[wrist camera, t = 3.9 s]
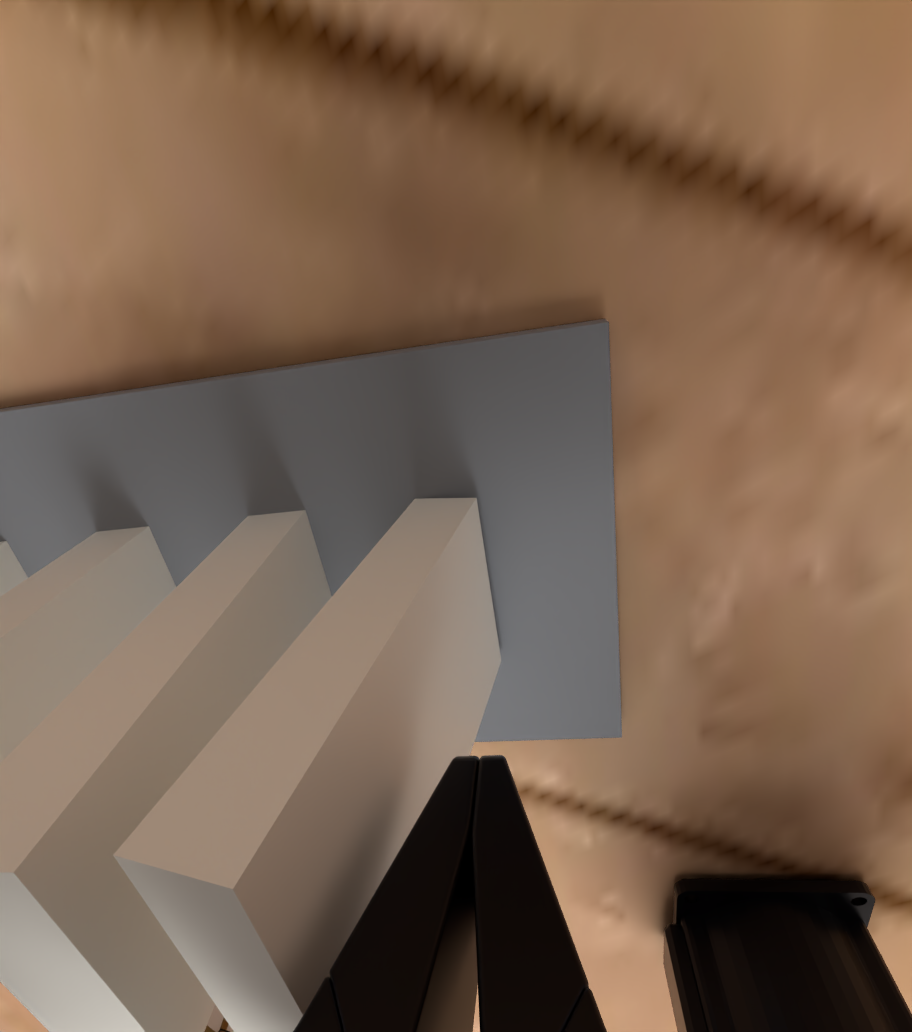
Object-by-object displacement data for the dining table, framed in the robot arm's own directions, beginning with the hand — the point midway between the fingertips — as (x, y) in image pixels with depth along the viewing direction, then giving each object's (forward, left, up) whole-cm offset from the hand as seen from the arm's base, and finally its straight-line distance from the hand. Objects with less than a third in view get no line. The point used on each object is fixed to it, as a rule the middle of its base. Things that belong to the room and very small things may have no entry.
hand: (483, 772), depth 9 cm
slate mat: (+10, 0, -7) cm, 12 cm away
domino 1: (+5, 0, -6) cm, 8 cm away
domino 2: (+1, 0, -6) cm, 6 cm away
